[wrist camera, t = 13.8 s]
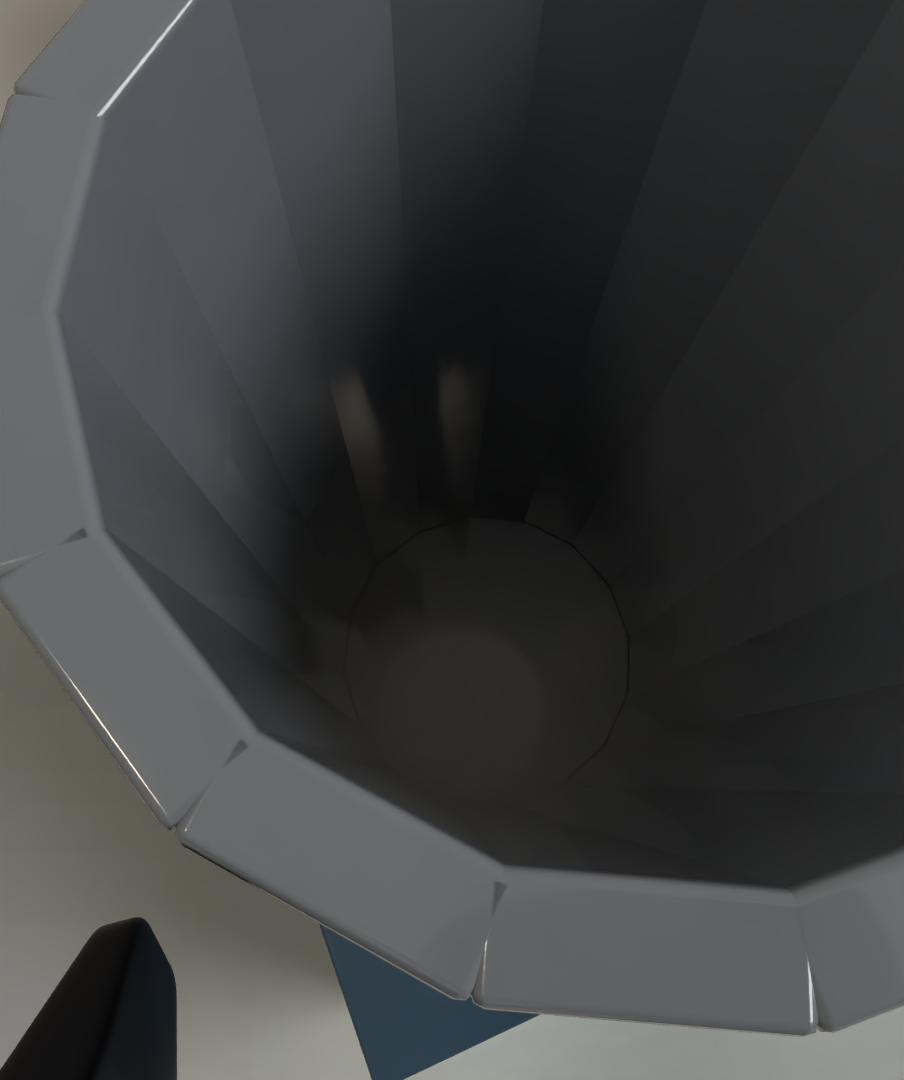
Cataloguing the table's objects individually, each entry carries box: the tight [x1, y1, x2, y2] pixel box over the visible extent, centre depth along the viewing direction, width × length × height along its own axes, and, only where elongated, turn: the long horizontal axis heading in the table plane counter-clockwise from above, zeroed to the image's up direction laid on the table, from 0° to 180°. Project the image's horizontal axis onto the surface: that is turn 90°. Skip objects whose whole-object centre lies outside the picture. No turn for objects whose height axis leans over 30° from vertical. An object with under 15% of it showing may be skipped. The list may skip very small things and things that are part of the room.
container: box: [320, 924, 540, 1080], centre depth 19 cm, size 12×9×5 cm
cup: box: [0, 0, 904, 1037], centre depth 10 cm, size 6×6×13 cm
